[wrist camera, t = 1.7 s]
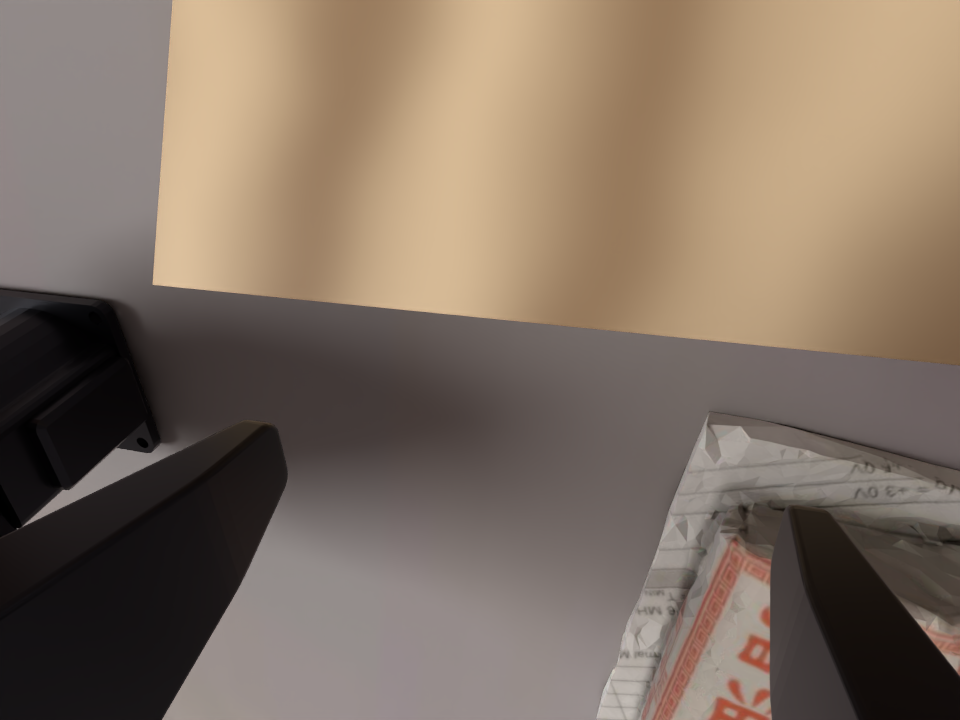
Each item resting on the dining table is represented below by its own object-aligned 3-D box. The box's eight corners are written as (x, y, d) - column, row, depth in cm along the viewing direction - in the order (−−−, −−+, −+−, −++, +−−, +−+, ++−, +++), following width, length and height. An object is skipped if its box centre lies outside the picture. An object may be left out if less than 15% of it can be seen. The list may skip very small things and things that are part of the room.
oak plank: (193, 288, 18) (152, 284, 17) (215, 0, 18) (174, -31, 16) (1124, 381, 13) (1182, 387, 12) (1186, -17, 13) (1254, -63, 11)
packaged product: (842, 934, 25) (571, 838, 27) (825, 795, 29) (589, 719, 31) (1171, 635, 15) (703, 510, 17) (1077, 484, 19) (705, 395, 21)
